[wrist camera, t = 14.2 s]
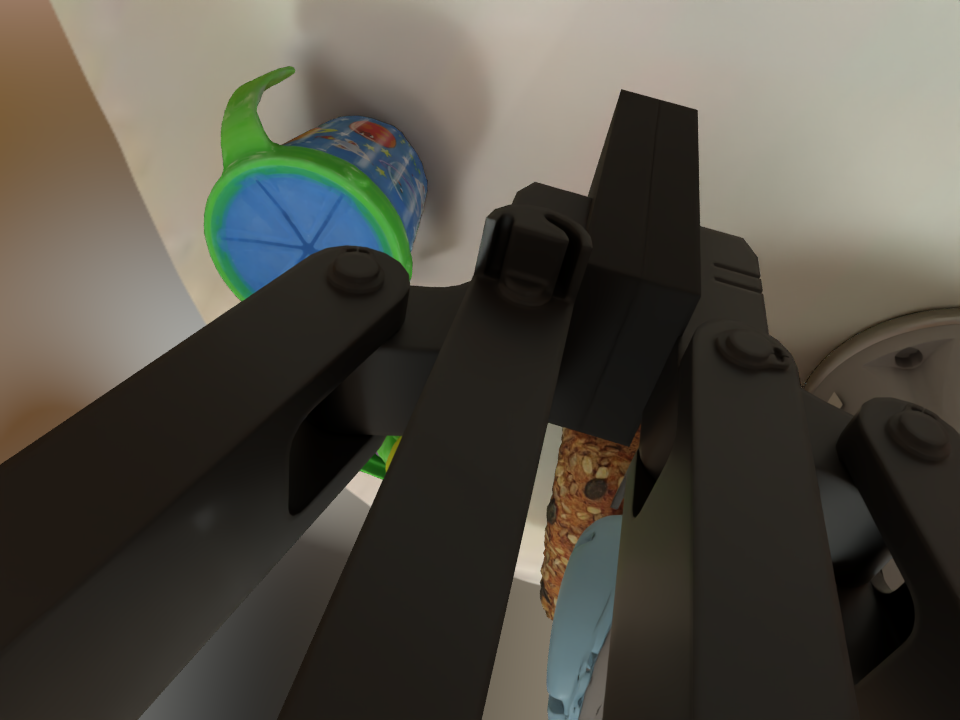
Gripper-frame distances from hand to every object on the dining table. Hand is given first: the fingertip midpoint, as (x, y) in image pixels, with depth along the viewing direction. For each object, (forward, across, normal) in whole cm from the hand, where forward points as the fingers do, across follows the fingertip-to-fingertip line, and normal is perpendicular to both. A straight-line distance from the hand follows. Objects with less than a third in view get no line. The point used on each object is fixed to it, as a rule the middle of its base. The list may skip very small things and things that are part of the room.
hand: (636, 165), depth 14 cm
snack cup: (+25, -13, -15) cm, 32 cm away
